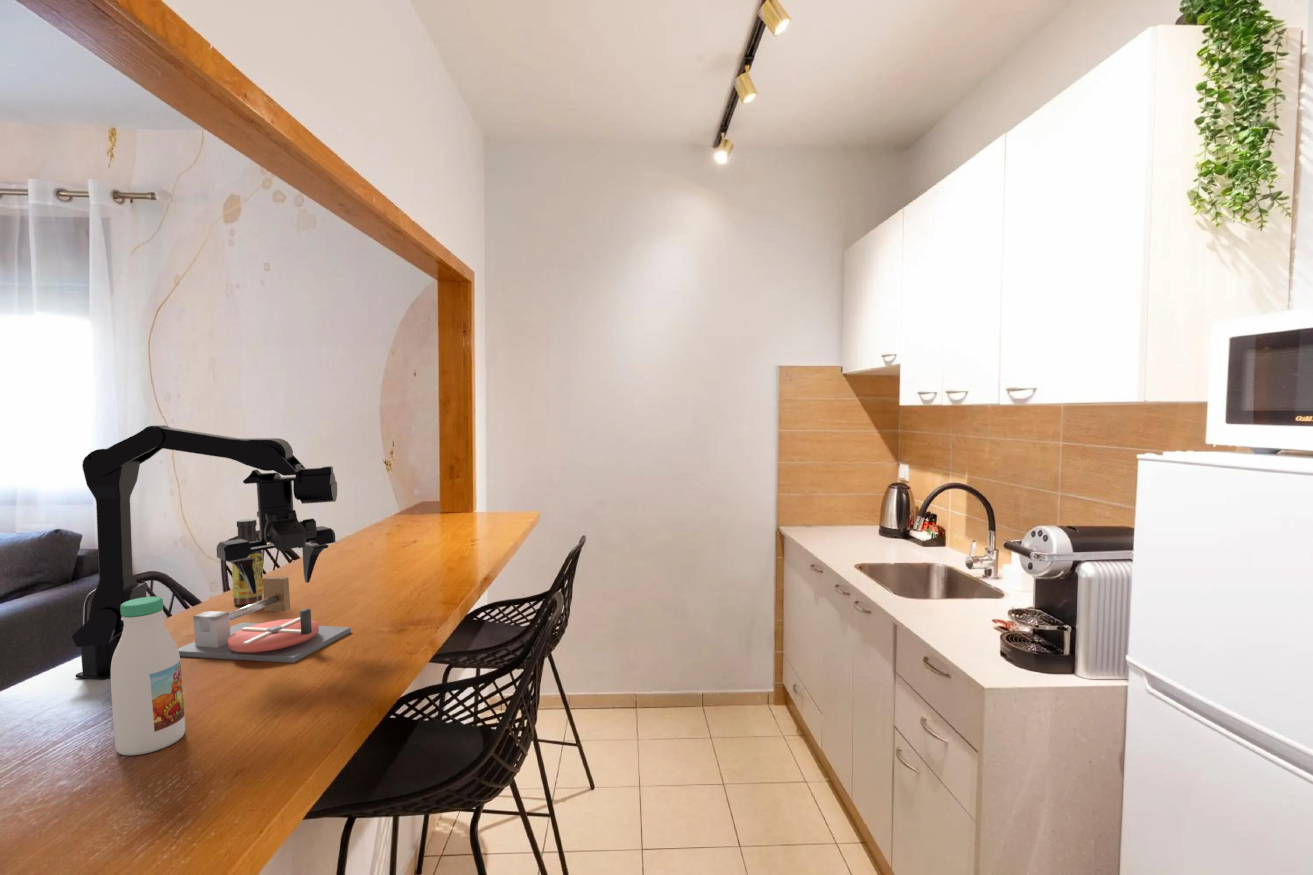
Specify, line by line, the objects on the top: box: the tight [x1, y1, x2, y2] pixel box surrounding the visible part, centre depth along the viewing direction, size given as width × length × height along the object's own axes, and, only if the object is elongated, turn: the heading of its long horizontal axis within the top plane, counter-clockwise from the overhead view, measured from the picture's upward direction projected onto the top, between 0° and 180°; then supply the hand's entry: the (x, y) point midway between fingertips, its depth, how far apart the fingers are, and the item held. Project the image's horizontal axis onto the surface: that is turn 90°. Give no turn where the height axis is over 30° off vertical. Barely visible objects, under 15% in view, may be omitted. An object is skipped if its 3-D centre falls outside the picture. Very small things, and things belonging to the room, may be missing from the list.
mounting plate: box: [178, 610, 352, 664], centre depth 129 cm, size 16×26×7 cm, turn 79°
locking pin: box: [229, 576, 291, 621], centre depth 137 cm, size 13×5×7 cm, turn 169°
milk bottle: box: [110, 596, 186, 756], centre depth 91 cm, size 8×8×20 cm
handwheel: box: [228, 608, 320, 652], centre depth 126 cm, size 15×15×6 cm
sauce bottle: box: [231, 518, 264, 606], centre depth 157 cm, size 6×6×20 cm
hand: (281, 587), depth 124 cm, fingers open, 9 cm apart
